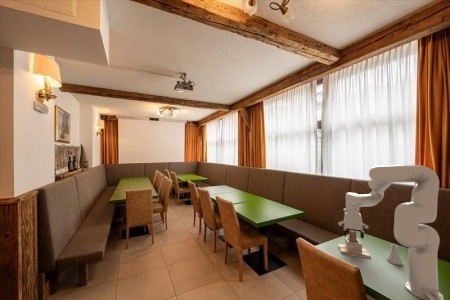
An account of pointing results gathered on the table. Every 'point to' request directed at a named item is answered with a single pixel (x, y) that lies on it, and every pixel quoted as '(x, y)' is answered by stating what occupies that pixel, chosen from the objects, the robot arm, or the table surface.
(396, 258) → the flask
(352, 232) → the dowel
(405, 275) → the table surface
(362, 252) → the socket block
